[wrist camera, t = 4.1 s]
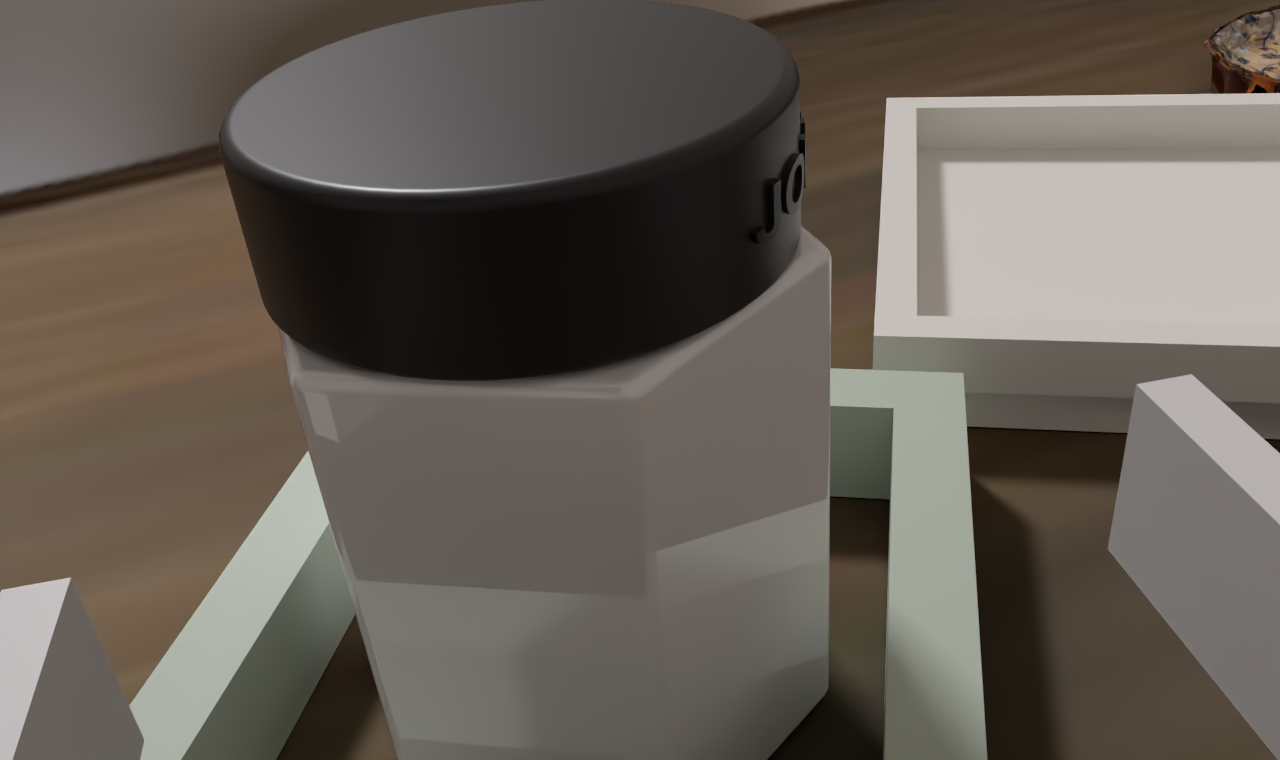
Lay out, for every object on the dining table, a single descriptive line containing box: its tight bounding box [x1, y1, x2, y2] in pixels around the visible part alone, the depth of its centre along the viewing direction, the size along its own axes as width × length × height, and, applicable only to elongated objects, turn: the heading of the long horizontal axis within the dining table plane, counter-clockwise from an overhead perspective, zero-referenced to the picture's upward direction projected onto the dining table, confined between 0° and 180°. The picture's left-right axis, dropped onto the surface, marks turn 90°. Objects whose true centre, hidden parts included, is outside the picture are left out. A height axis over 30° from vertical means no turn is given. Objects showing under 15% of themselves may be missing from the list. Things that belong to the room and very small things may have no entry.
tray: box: [873, 93, 1280, 439], centre depth 34 cm, size 16×16×2 cm
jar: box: [219, 0, 831, 760], centre depth 20 cm, size 9×8×12 cm
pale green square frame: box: [129, 369, 987, 760], centre depth 23 cm, size 14×15×2 cm
